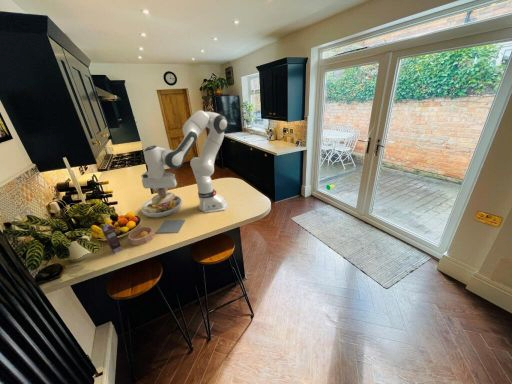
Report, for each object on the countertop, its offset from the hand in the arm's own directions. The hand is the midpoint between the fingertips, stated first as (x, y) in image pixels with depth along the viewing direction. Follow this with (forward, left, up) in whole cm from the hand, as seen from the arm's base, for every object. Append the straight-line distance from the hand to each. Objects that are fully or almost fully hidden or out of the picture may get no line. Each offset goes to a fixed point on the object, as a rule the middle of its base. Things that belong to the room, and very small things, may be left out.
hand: (162, 193), depth 136 cm
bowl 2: (+16, -25, -26) cm, 39 cm away
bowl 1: (+14, +12, -25) cm, 31 cm away
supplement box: (+25, +22, -25) cm, 42 cm away
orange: (+12, +12, -23) cm, 29 cm away
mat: (0, 0, -25) cm, 25 cm away
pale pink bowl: (0, 0, -3) cm, 3 cm away
